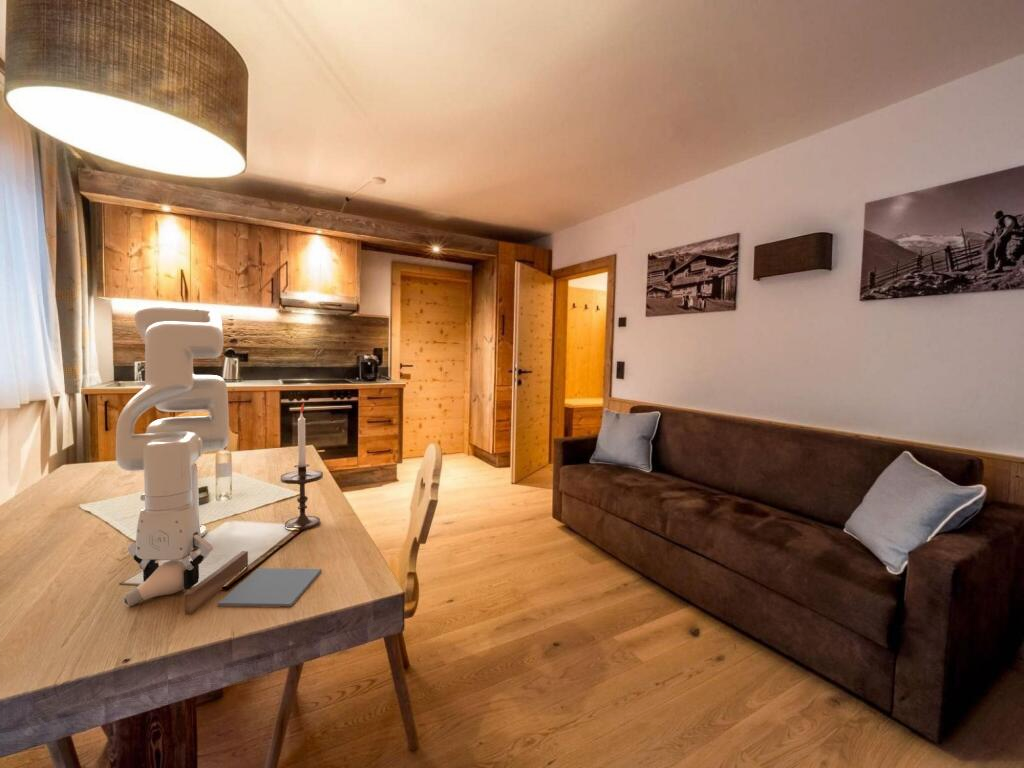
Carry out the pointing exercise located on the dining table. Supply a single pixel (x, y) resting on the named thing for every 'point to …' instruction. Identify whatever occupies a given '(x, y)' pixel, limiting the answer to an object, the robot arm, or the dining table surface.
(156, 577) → the light bulb
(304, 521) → the candlestick
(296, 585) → the mat
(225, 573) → the low wall
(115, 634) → the dining table surface
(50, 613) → the dining table surface
